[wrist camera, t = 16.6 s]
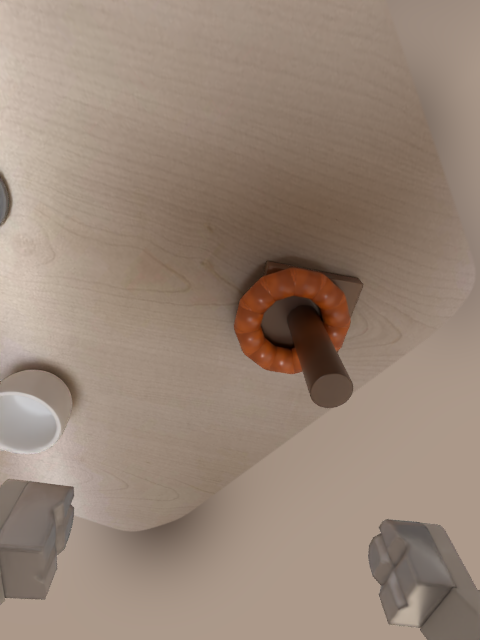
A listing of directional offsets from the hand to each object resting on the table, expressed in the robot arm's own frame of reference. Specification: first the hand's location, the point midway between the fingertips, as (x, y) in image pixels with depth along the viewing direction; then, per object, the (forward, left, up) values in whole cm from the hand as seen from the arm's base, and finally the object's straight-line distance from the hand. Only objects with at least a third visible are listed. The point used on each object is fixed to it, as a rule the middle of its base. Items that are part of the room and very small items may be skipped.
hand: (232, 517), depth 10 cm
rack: (-8, +6, -27) cm, 29 cm away
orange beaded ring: (-7, +6, -24) cm, 26 cm away
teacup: (+17, +21, -27) cm, 38 cm away
